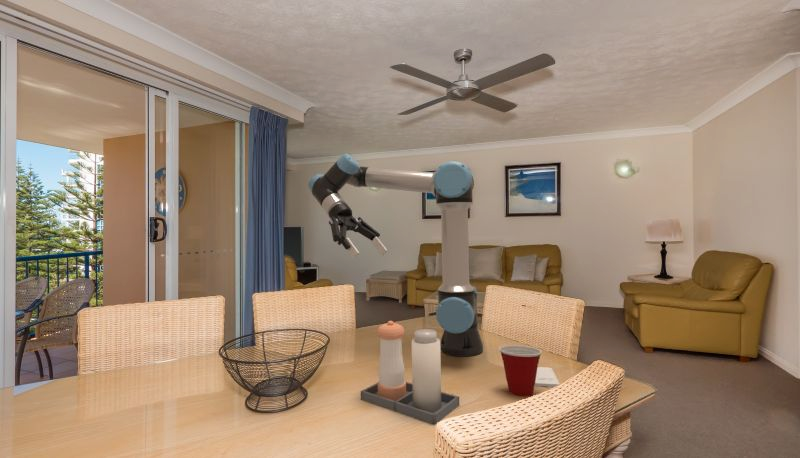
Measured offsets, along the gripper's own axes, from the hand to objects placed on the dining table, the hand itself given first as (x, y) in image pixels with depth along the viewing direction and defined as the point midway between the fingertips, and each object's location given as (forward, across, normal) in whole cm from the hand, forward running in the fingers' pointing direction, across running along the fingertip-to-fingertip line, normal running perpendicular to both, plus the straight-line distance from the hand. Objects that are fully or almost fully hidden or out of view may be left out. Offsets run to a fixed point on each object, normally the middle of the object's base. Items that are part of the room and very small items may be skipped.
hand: (371, 254), depth 122 cm
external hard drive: (+59, -20, +7) cm, 62 cm away
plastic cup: (+58, -6, +7) cm, 58 cm away
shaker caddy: (+43, +16, -7) cm, 47 cm away
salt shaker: (+46, +16, -3) cm, 49 cm away
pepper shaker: (+39, +16, -10) cm, 43 cm away
